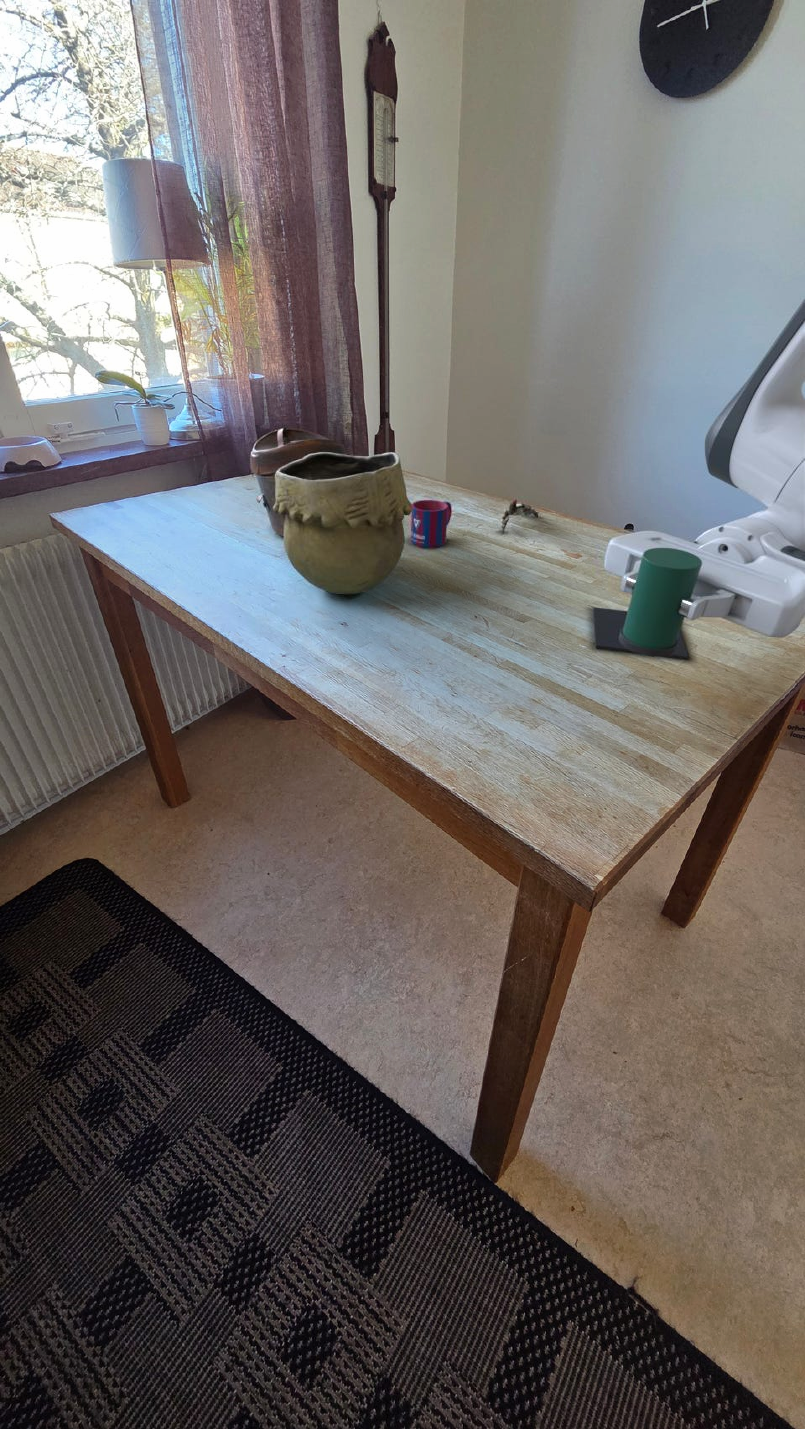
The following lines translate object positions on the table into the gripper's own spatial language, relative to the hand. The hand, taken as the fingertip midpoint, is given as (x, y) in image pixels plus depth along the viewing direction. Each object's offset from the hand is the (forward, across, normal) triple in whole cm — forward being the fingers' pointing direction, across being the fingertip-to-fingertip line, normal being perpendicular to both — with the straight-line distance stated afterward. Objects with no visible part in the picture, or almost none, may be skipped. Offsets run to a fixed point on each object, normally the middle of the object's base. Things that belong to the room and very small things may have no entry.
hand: (656, 597), depth 58 cm
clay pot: (+4, -50, +17) cm, 53 cm away
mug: (-22, -58, +17) cm, 64 cm away
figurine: (-41, -55, +17) cm, 71 cm away
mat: (-22, -13, +16) cm, 30 cm away
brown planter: (-4, -78, +17) cm, 79 cm away
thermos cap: (-1, 0, +5) cm, 5 cm away
